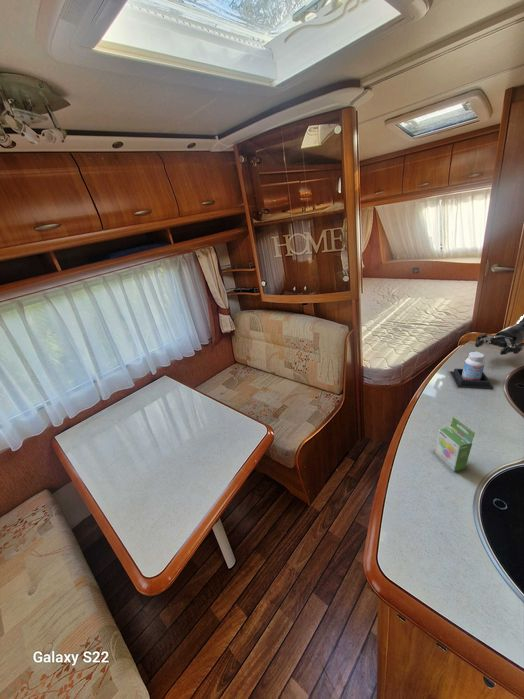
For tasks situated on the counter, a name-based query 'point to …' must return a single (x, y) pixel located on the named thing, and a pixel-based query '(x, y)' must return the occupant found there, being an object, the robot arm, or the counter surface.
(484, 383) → the socket pad
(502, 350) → the robot arm
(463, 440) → the ink box
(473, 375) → the pill bottle
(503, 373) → the counter surface
